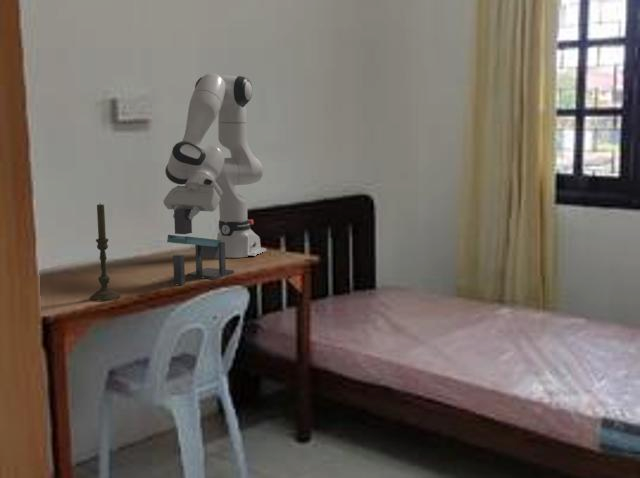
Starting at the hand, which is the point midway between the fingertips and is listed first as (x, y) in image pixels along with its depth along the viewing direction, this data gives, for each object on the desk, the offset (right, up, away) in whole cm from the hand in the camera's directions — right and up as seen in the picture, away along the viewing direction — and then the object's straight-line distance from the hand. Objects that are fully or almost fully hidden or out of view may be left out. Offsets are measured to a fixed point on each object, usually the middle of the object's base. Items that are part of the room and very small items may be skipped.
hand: (182, 218), depth 271 cm
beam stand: (+4, -20, +12) cm, 24 cm away
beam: (+3, -13, +9) cm, 16 cm away
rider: (0, -5, +1) cm, 5 cm away
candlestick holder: (-21, -25, -17) cm, 37 cm away
